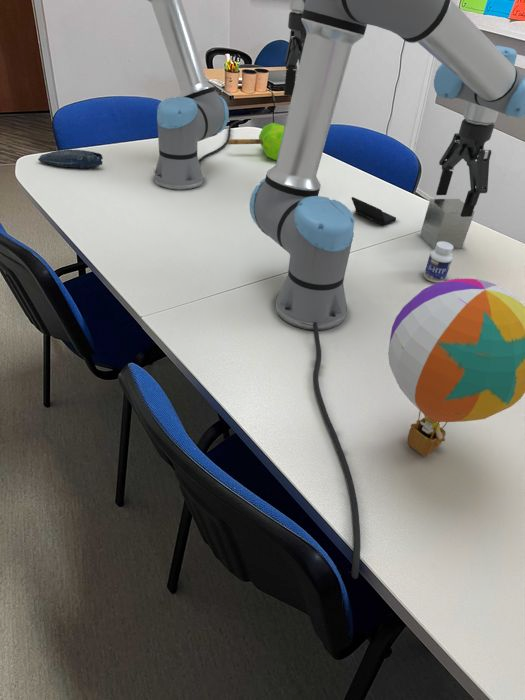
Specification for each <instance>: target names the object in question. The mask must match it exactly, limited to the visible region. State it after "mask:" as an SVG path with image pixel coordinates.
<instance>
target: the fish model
mask: <svg viewBox="0 0 525 700" xmlns="http://www.w3.org/2000/svg"><path fill="white" fill-rule="evenodd" d="M103 159H104V157H103V155H102V154H101V153H100V152H95V151H89V150H84V149H59V150H56V151H51V152H48V153H44V154H43V153H42V154H41V155H40V156H39V157H38V158H37V160H38V161H39V162H41V163H44V164H47V165H49V166H50V165H51V166H55V167H61V168H78V169H82V170H86V169H89V168H93V169H96V168H98V167H99V166H102V165H103V161H102V160H103Z"/></svg>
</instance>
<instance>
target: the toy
mask: <svg viewBox="0 0 525 700" xmlns="http://www.w3.org/2000/svg"><path fill="white" fill-rule="evenodd" d="M387 355H388V365H389V367H390V369H391V372H392V375H393V377H394V379H395V381H396V383H397V385H398V388H399V389H400V391H401V392H402V393H403V394H404V396H405V397H406V398H407V399H408V400H409V401H410V403H412V405H413V406H415V407H416V408H417V409H418V410H419V411H418V418H417V420H416V423H411V424H410V429H409V431H408V434H407V439H406V443H407V445H408V446H409V447H410V448H412V449H413V450H414V451H416V452H417V453H418V454H420V455H421V456H422V457H424V458H426V457H428V456H429V455H430V454H431V453H433V452H434V451H435V450H437V449H438V448H439V447H440V446H441V444H442V443H443V442H445V441H446V434H447V432H446V430H445V427H446V425H447V424H448V423H461V422H472V421H479V420H486V419H488V418H489V417H492V416H494V415H496V414H498V413H501V412H503V411H505V410H508V409H509V408H511V407H513V406H514V405H515V404H516V403H518V402H519V401H520V400H521V399H522V397H523V396H524V395H525V305H524V304H523V303H522V301H521V300H520V299H519V298H518V297H517V296H516V295H515V294H513V293H511V292H510V291H508V290H507V289H505V288H503V287H502V286H500V285H498V284H495V283H492V282H491V281H487V280H482V279H477V278H452V279H448V280H444V281H443V282H439V283H437V282H436V283H435V284H431V285H429V286H428V287H426V288H423V289H421V291H420V292H419V293H417V294H416V295H415V296H414V297H413V298H411V300H409V302H407V303H406V304H405V305H404V306H403V307H402V309H401V310H400V311H399V313H398V314H397V315H396V317H395V319H394V321H393V324H392V326H391V333H390V337H389V344H388V351H387ZM421 414H423V418H422V419H420V418H421ZM440 423H444V425H443V426H442V427H441V424H440Z"/></svg>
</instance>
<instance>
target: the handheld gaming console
mask: <svg viewBox="0 0 525 700" xmlns="http://www.w3.org/2000/svg"><path fill="white" fill-rule="evenodd" d="M351 201H352V204H353V206H354V209H355V211H354V212H355V213H356V214H359V215H360V216H362V217H364V218H367V219H370V220H372V221H373V222H375V223H377V224H380V225H382V226H386V225H388V224H391V223H394V222H396V220H397V217H396V216H394V215H392V214H389V213H387V212H385V211H383V210H382V209H381V208H379V207H376V206H374V205H372V204H370V203H367V202H365V201H363V200H360V199H358V198H356V197H354V196H352V197H351Z"/></svg>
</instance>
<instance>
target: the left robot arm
mask: <svg viewBox="0 0 525 700" xmlns="http://www.w3.org/2000/svg"><path fill="white" fill-rule="evenodd" d="M147 1H148V2H149V3H150V4H151V6H152V9H153V12H154V15H155V18H156V21H157V24H158V26H159V30H160V33H161V36H162V38H163V41H164V45H165V48H166V50H167V53H168V57H169V59H170V62H171V66H172V68H173V71H174V74H175V77H176V79H177V83H178V86H179V88H180V93H179V96H176V97H169V98H165V99H163V100H162V101H160V102H159V104H158V106H157V109H156V110H157V111H156V112H157V114H156V122H157V124H156V125H157V136H158V137H157V138H158V159H157V163H156V166H153V175H154V177H153V178H154V182H155V184H156V185H158V186H160V187H162V188H165V189H169V190H175V191H176V190H179V191H181V190H182V191H184V190H192V189H196V188H198V187H200V186H202V185H203V183H204V173H203V169H202V167H201V164H200V163H201V162H202V161H203V160H204V159H205V158H208V157H209V156H211V155H214V154H216V153H218V152H219V151H221V150H223V148H225V147H226V146H227V145H228V139H231V131H232V130H231V129H232V127H234V126H235V125H236V124H238V123H240V124H244V121H243V120H241V119H239V120H235V121H234V122H232V123H231V124H230V125H229V126H228V131H227V139H226V141H225V142H224V143H223V145H221V146H220V147H218V148H216V149H215V150H213V151H210V152H208V153H206V154H204V155H203V156H202V157H200V158H199V157H198V143H199V142H200V141H203V140H206V139H209V138H212V137H215V136H217V135H218V134H220V133H222V132H223V131H224V130H225V129H226V127H227V125H228V122H229V119H230V118H229V117H230V116H229V115H230V112H229V106H228V104H227V102H226V101H225V99H224V98H223V97H221V96H220V95H219V94H217V92H216V89H215V86H214V84H211V83H210V82H209V81H208V79H207V77H206V73H205V71H204V67H203V64H202V60H201V58H200V55H199V51H198V48H197V45H196V42H195V39H194V36H193V32H192V29H191V26H190V23H189V19H188V16H187V13H186V11H185V7H184V4H183V1H182V0H147ZM304 5H305V4H304V3H303V1H302V0H289V9H290V10H291V11H289V14H288V22H287V27H288V29H289V30H290V32H289V40H288V45H287V49H286V54H285V59H284V66H285V69H286V70H285V80H284V91H283V95H284V96H291V97H292V94H293V90H294V86H295V82H296V77H297V71H298V65H299V64H300V60H301V56H302V52H303V47H304V43H305V39H306V35H307V33H306V29H305V27H304V25H303V23H302V20H301V19H302V14H303V10H304Z"/></svg>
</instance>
